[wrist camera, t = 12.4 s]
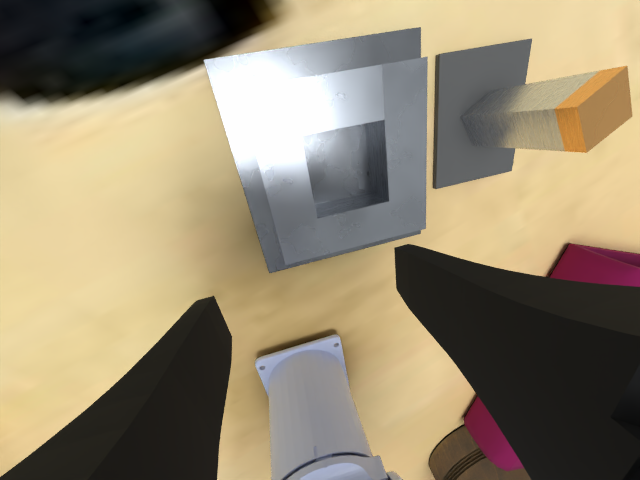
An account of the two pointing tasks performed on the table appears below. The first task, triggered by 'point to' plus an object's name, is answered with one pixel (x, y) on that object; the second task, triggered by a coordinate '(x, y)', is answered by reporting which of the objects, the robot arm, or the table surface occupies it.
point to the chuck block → (328, 142)
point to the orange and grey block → (552, 113)
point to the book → (572, 266)
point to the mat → (459, 95)
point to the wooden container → (467, 461)
